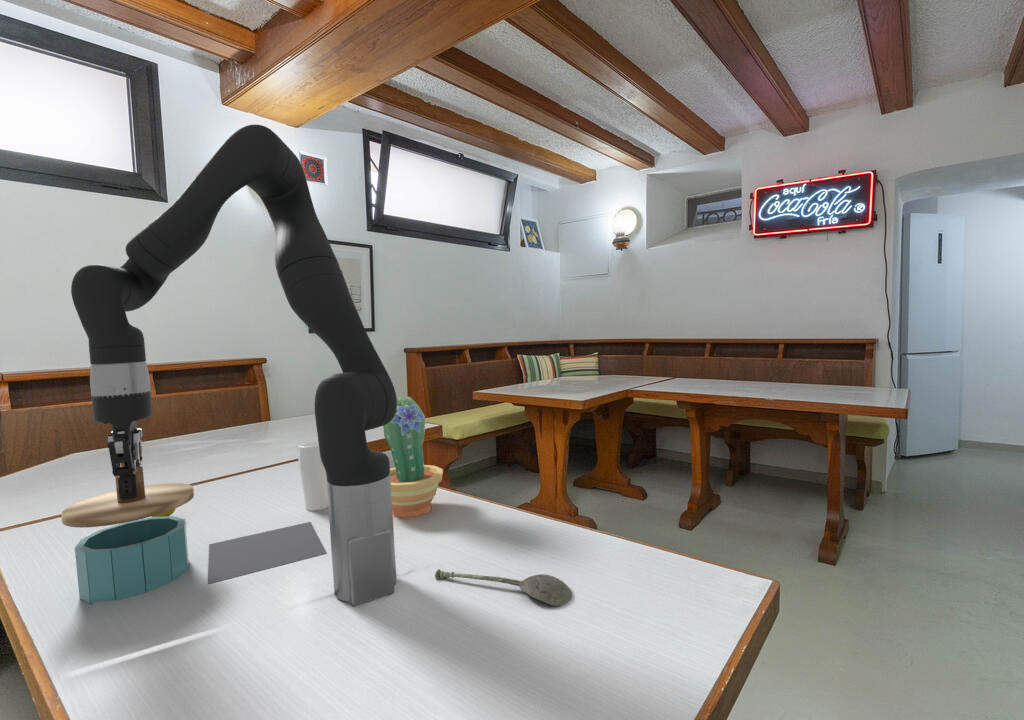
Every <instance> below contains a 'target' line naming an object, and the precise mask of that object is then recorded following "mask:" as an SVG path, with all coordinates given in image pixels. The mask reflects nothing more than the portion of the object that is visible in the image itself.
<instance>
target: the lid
mask: <svg viewBox="0 0 1024 720" xmlns="http://www.w3.org/2000/svg"><path fill="white" fill-rule="evenodd" d="M136 469H137V472H136V482H137V493H138V494H137V497H136V498H133V499H128V500H121V499H120V497H119V486H118V477H117V478H116V476H114V477H115V479H114V480H115V489H116V490H114V491H110V492H106V493H102V494H98V495H95V496H91V497H89V498H86V499H84V500H81V501H78V502H76V503H73V504H71V505H69V506H68V507H66V508H65V509H64V510H63V511H62V512H61V523H62V524H63V525H64V526H66V527H69V528H70V527H71V528H97V527H98V528H99V527H106V526H115V525H118V524H122V523H126V522H131V521H135V520H140V519H145V518H151V516H155V515H158V514H161V513H164V512H167V511H170V510H172V509H175V508H176V509H177V508H180V507H181V506H184V505H185V504H187V503H188V502H190V501H191V500H192V499H193V498H194V497H195V493H194V487H193V485H192V484H188V483H184V482H183V483H181V482H180V483H178V482H169V483H168V482H166V483H164V482H163V483H154V484H146V485H145V477H144V468H143V466H142V465H141V466H136ZM176 509H175V510H176Z"/></svg>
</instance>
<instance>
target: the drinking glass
mask: <svg viewBox="0 0 1024 720" xmlns="http://www.w3.org/2000/svg"><path fill="white" fill-rule="evenodd" d="M297 456H298V457H297V459H298V466H299V472H300V473H299V474H300V478H301V485H302V491H303V492H302V493H303V496H304V505H305V506H304V508H305V510H306V511H310V512H314V511H315V512H316V511H317V512H318V511H321V510H325V509H327V508H329V507H328V490H327V476H326V471H325V468H324V466H323V464H322V461H321V457H320V451H319V442H318V440H311V441H306V442H302V443H299V444H298V446H297Z"/></svg>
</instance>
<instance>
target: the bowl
mask: <svg viewBox="0 0 1024 720" xmlns="http://www.w3.org/2000/svg"><path fill="white" fill-rule="evenodd" d="M186 524H187V523H186V518H183V517H178V516H175V515H170V516H166V517H147V518H144V519H139V520H135V521H131V522H126V523H120V524H114V525H111V526H110V527H106V528H102V529H99V530H97V531H95V532H93V533H91V534H89V535H87V536H85V537H84V538H80V540H79V541H78V542H77V544H76V545H75V546H74V554H75V564H76V575H77V584H78V596H79V599H80V600H81V601H83V602H85V603H88V604H90V605H94V604H95V602H103V601H104V602H105V601H107V602H108V601H115V600H117V601H118V600H121V599H125V598H129V597H133V596H137V595H142V594H146V593H148V592H150V591H153V590H155V589H157V588H159V587H161V586H162V587H163V586H164V585H167V584H170V583H171V582H173V581H174V580H176V579H177V578H179V577H180V576H181V575H182V574H184V573H185V572H187V571H188V569H189V563H190V562H189V560H190V558H189V549H188V536H187V527H186V526H187V525H186Z"/></svg>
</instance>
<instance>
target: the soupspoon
mask: <svg viewBox="0 0 1024 720" xmlns="http://www.w3.org/2000/svg"><path fill="white" fill-rule="evenodd" d="M434 578H435V580H436V581H438V580H439V579H441V580H442V579H449V578H452V579H453V578H462V579H471V580H480V581H488V582H489V581H490V582H495V583H496V582H497V583H502V584H508V585H512V586H517V587H519V588H520V590H521V591H522V592H524V594H527V595H528V596H529V597H532V598H533V599H535V600H538V601H540V602H544V603H546V604H547V605H551V606H553V607H563V606H566V605H567V604H568V603H569V602H570V601H571V600H572V597H573V593H572V590H571V589H570V587H569V586H568V584H566V583H565V582H564V581H563V580H561V579H560V578H558V577H555V576H552V575H549V574H535V575H532V576H529V577H526V578H525V579H523V580H519V579H514V578H507V577H500V576H492V575H481V574H469V573H455V571H452V572H450V571H443V570H441V569H437V570H436V571H435V573H434Z"/></svg>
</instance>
